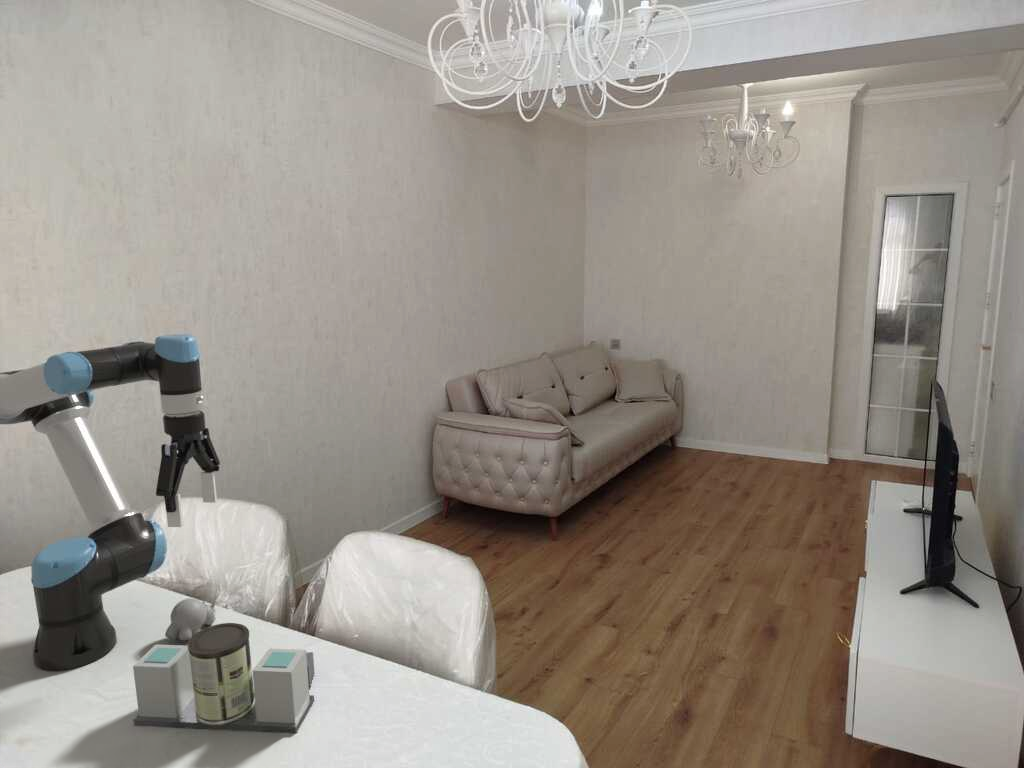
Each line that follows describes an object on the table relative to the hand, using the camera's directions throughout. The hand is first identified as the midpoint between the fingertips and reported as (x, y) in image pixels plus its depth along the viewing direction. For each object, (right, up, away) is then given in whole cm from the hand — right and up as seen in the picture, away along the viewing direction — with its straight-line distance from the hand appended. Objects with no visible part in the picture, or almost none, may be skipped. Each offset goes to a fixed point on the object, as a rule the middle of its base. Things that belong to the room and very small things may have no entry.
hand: (193, 513), depth 146 cm
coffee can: (+13, -33, -15) cm, 38 cm away
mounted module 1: (+2, -33, -14) cm, 36 cm away
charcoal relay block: (+23, -32, -6) cm, 40 cm away
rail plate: (+13, -34, -15) cm, 39 cm away
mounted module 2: (+24, -33, -16) cm, 44 cm away
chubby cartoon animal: (-5, -29, +13) cm, 32 cm away
